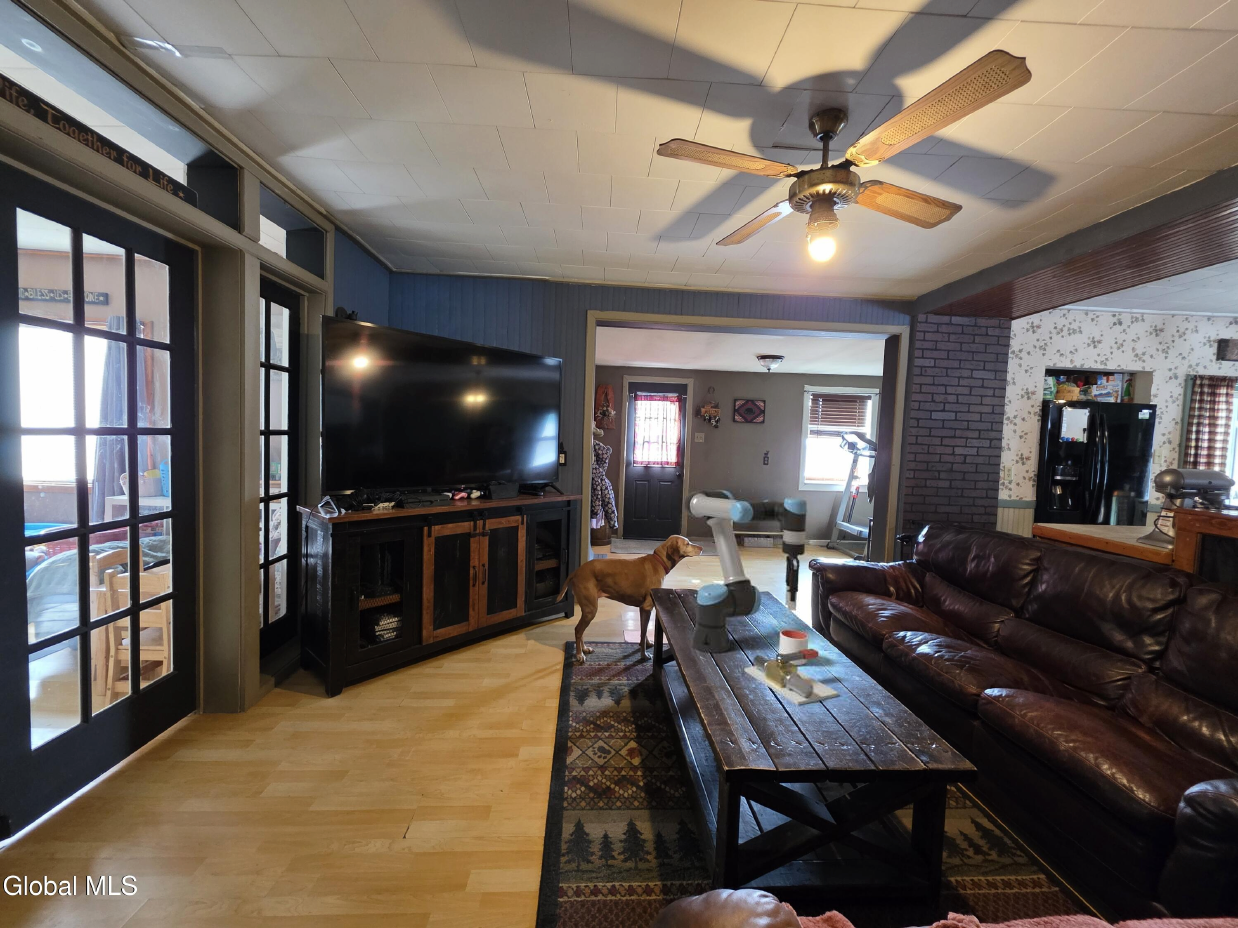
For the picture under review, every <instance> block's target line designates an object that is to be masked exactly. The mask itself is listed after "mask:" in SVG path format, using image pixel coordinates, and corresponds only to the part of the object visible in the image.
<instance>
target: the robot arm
mask: <svg viewBox="0 0 1238 928" xmlns="http://www.w3.org/2000/svg"><path fill="white" fill-rule="evenodd" d="M683 509H684V510H685V512H686V514H687V515H689V516H691V517H695V518H705V520H706V521H705V522H706V523H707V525H709V526H710V527H711V531H712V534H713V538H714V542H715V547H716V550H717V555H718V559H719V563H720V567H721V572H722V574H723V578H724V581H723V584H720V583H719V584H718V583H717V584H714V583H711V584H705V585H702V586H701V587H700V588H698V591H697V597H696V603H697V604H696V625H695V628H694V631H693V633H692V636H691V640H690V641H691V642H690V645H691V647H693V648H694V649H696V650H698V651H701V652H705V653H713V654H717V653H724V652H727V651H729V650H730V647H731V641H730V637H729V633H728V629H727V619H733V618H740V617H749V616H753V615H755V614H757V613H758V611H759V610H760V607H761V604H762V595H761V591H760V590H759V589H758V588H757V586H755V585H752V582H751V579H750V578H748V577H747V576H746V575H745V570H744V567H743V562H742V558H741V556H740V551H739V548H738V543H737V539H736V536H735V533H734V528H733V524H732V521H733V522H734V523H738V524H739V523H740V524H746V523H768V522H769V523H770V522H771V523H773V522H774V523H781V524H782V525H783V527H782V529H783V530H782V532H781V535H782V541H783V542H782V544H781V545H782V546H781V547H782V549H781V552H782V553H783V554H786V558H785V559H786V560H785V562H786V568H785V569H786V570H785V606H787V610H788V611H793V612H794V611H797V600H798V599H797V595H798V592H799V576H800V575H799V574H800V573H799V572H800V567H801V566H800V559H799V558H798V556H803V555H804V554H805V552H806V551H805V550H806V549H805V548H806V545H805V543H806V533H807V532H806V529H807V528H806V526H807V524H806V523H807V513H808V510H807V509H808V508H807V501H806V500H805V499H803V498H796V497H795V498H794V497H786V498H785V499H784V502H783V501H777V500H774V499H766V500H763V501H761V500H760V501H759V500H758V501H748V500H747V501H746V500H744V501H743V500H737V499H735V497H734V495H732V493H731V492H729V491H727V490H722V489H715V490H713V489H711V490H707V489H706V490H705V489H704V490H699V489H698V490H694V491H691V492H689V493H688V494H686V496H685V498H684V500H683Z"/></svg>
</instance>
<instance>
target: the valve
mask: <svg viewBox="0 0 1238 928" xmlns="http://www.w3.org/2000/svg"><path fill="white" fill-rule="evenodd" d="M752 664H753V667H754V666H755V667H756V668H758V669H760V670H761V671H763V674H764V675H765V676H766V679H767V680H769V681H770V682H772V683H773V684H775V685H777V686H778V687H780V688H782V687H786V688H787V689H788V690H794V691H795V692H797V693H799V694H800V695H802V696H803V697H805V698H809V697H810V696H811V695H812V694H813V686H812V685H811V684H809V683H808V682H806V681H804V680H802V679H801V676H800V675H799V674H797V671H799V669H798V665H794V664H792V663H790V662H788V663H787V664H781V663H778V662H777V661H776V659H772V658H771V659H769V658H766V657H764V656H763V655H761V654H760V655H759V654H758V655H756V656H755V657H754V658H753V660H752Z"/></svg>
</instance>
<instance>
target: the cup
mask: <svg viewBox="0 0 1238 928" xmlns="http://www.w3.org/2000/svg"><path fill="white" fill-rule="evenodd" d="M778 647H779V648H778V654H789V653H794V652H799V651H800V650H806V649H809V635H808V634H807V633H805V632H803V631H800V630H795V629H784V630H781V631H780V632H779V646H778ZM807 661H808V659H807V660H804V659H801V660H796V661H790V663H792V664H794V665H796V666H802V665H804V664H806V663H807Z"/></svg>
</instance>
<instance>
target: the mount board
mask: <svg viewBox="0 0 1238 928" xmlns="http://www.w3.org/2000/svg"><path fill="white" fill-rule="evenodd" d="M744 672H745V673H747V674H748V675H750V676H752V677H753V678H755V679H756V680H758V681H759V682H761V683H763V684H764V685H766V686H767V687H769V688H770V689H772V690H773V691H775V692H776V693H778V694H780V695H781V696H782V697H785V699H787V700H788V701H790V702H792V703H793V704H795V705H796V706H799V705H804V704H809V703H815V702H817V701H822V700H827V699H832V698H835V697H839V692H838V691H836V690H834V689H833V688H831V687H829V686H828V685H825V684H823V683H822V682H820V681H818V680H817V679H815V678H813V677H812V676H811V677H810V676H809V675H807V673H806V674H805V673H804V672H802V671H800V670H798V671H797V674H799V675H800V676H801V679H802V680H804V681H806V682H808V683H809V684H811V685H812V686H813V694H812V695H811V696H810V697H809V698H805V697H803V696H802V695H800V694H799V693H797V692H795V691H794V690H788V689H787V688H786V687H782V688H780V687H778V686H777V685H775V684H773V683H772V682H770V681H769V680H767V679H766V676H765V675H764V674H763V671H761V670H760V669H758V668H756V667H755V666H754V665H753V666H750V667H749V666H748V667H744Z"/></svg>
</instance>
